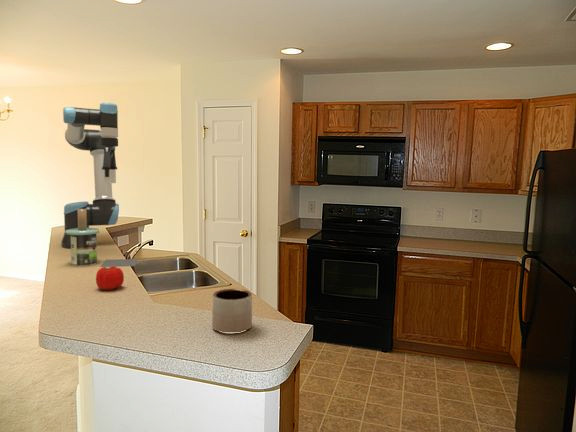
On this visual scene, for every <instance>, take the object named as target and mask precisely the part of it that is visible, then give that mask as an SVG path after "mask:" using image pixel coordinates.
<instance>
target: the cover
mask: <svg viewBox="0 0 576 432" xmlns="http://www.w3.org/2000/svg"><path fill="white" fill-rule="evenodd" d="M77 210H78V228H74V229H68V230H66V234H68V235H90V234H96V233H97V234H99V233H100V229H99V228H98V227H97V228H95V227H89V228H87V217H86V209H77ZM97 234H96V235H97Z"/></svg>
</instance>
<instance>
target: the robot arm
mask: <svg viewBox="0 0 576 432" xmlns="http://www.w3.org/2000/svg"><path fill="white" fill-rule="evenodd" d="M118 113H119V111H118V105H117V104H116V103H113V102H101V103H99V109H97V108H85V107H77V106H76V107H74V106H65V107H63V108H62V115H63V116H62V117H63V123H64V124H67V127H66V130H65V132H64V138H65V141H66V142H67V143H68V144H69V145H70V146H71V147H73V148H75V149H77V150H80V151H88V152H89V154H90V155H91V156H92V158H93V174H94V175H93V177H94V194H95V196H94V197H95V198H94V199H93V200H92V203H89V201H87V200H86V201H76V202H70V203H67V204H65V205H64V207H63V215H64V216H63V217H64V222H63V223H64V233H63V236H62V239H61V243H60V244H61V246H62V248H63V249H71V235H68V234H66V230H68V229H74V228H78V210H77V209H86V217H87V228H90V227H93V226H114V225H116V224H117V223H118V220H119V213H120V204H119V203H116V202H117V201H116V199H115V198H113V185H112V184H116V183H117V174H116V173H117V171H116V170H118V167H117V161H116V159H117V158H116V152H115V151H116V147H119V139H118V137H119V126H118V125H119V124H118V121H119V120H118V119H119V118H118ZM86 125H87V126H98V127H99V128H100V129H88V128H87V129H86V128H85V126H86Z"/></svg>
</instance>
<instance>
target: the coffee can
mask: <svg viewBox="0 0 576 432" xmlns="http://www.w3.org/2000/svg"><path fill="white" fill-rule="evenodd" d="M97 234H98V233H96V234H90V235H71V248H70V254H71V255H70V257H71V265H72V266H76V267H85V266H92V265H96V264H98V254H97V253H98V249H97V248H98V247H97V246H98V245H97V242H98V241H97Z"/></svg>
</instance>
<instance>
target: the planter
mask: <svg viewBox="0 0 576 432" xmlns="http://www.w3.org/2000/svg"><path fill="white" fill-rule="evenodd" d="M212 293H213V294H212V310H211V311H212V312H211V313H212V315H211V318H212V319H211V325H212V326H211V327H212V329H213V328H214V329H216V330H218V331H222V332H241V331H244V330H247V329H249V328H250V327H251V328H252V325H253V293H252V292H251V291H249V290H246V289H243V288H225V289H220V290H217V291H214V292H212ZM251 328H250V329H251ZM214 329H213V330H214ZM250 329H249V330H250Z"/></svg>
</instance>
